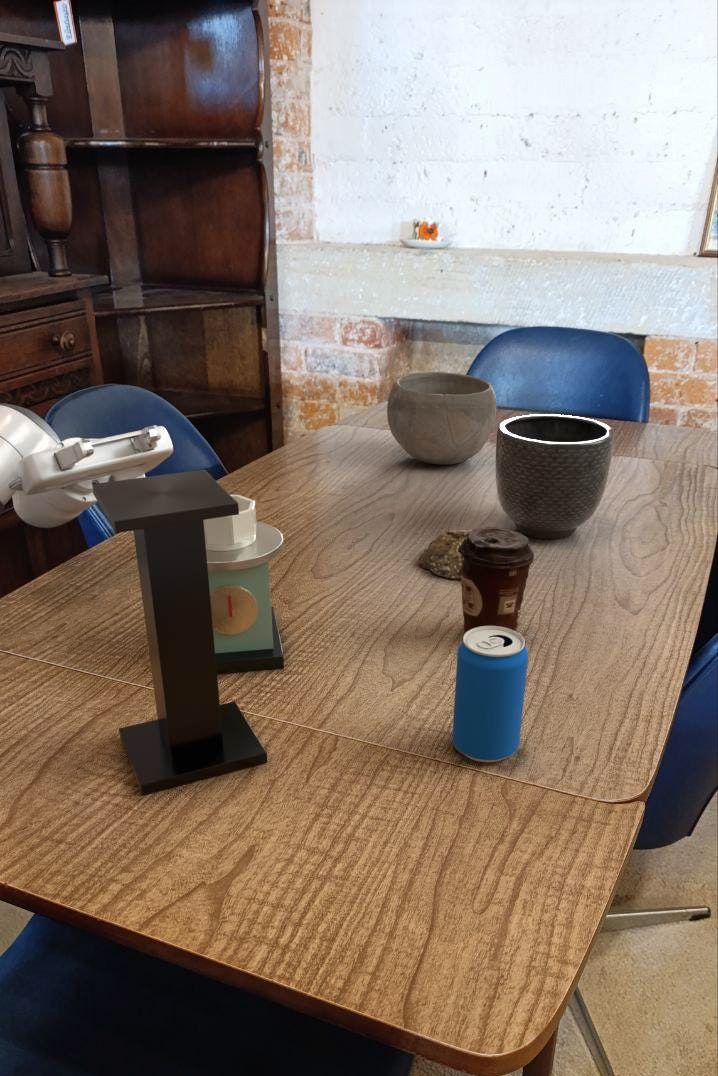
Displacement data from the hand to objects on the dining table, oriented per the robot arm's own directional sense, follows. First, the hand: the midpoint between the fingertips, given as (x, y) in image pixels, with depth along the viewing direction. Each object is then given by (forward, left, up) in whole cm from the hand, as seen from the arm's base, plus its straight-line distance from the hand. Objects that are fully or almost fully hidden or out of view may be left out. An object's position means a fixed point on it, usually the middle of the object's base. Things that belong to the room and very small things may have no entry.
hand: (121, 439), depth 106 cm
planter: (+40, +49, -21) cm, 67 cm away
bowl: (+10, +76, -21) cm, 80 cm away
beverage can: (+53, -11, -21) cm, 58 cm away
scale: (+19, -5, -21) cm, 29 cm away
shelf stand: (+28, -25, -21) cm, 43 cm away
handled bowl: (+14, -4, -8) cm, 16 cm away
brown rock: (+34, +30, -21) cm, 50 cm away
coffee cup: (+45, +11, -21) cm, 51 cm away
